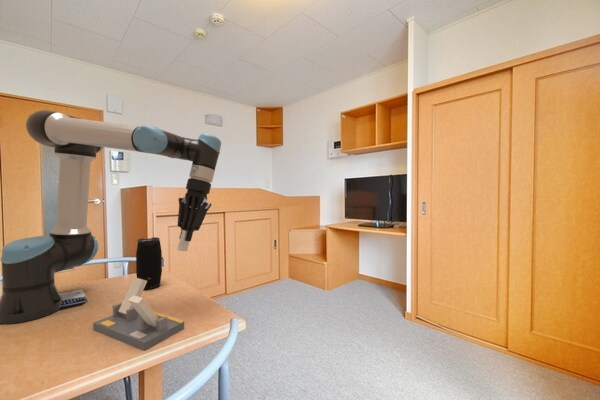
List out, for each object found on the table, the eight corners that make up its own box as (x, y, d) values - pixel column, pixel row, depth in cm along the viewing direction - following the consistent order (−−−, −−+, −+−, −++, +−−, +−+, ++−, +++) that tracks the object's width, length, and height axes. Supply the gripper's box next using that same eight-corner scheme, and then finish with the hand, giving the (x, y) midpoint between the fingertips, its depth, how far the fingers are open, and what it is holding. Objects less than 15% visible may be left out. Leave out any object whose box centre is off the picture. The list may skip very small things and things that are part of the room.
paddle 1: (116, 312, 80) (134, 277, 85) (121, 313, 82) (138, 278, 86) (126, 316, 78) (143, 279, 83) (131, 317, 80) (148, 281, 84)
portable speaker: (156, 290, 106) (156, 240, 106) (131, 291, 106) (130, 241, 105) (165, 283, 115) (165, 236, 114) (142, 283, 114) (141, 237, 113)
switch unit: (93, 329, 77) (93, 311, 77) (135, 312, 88) (134, 296, 87) (144, 350, 67) (144, 329, 67) (184, 328, 78) (184, 310, 78)
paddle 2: (147, 324, 75) (127, 300, 70) (151, 319, 76) (132, 295, 71) (158, 328, 73) (138, 303, 68) (163, 323, 74) (143, 298, 69)
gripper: (177, 175, 91) (158, 245, 88) (206, 179, 85) (187, 254, 82) (194, 181, 98) (177, 247, 94) (222, 185, 92) (205, 255, 89)
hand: (182, 250), depth 88 cm, fingers closed
